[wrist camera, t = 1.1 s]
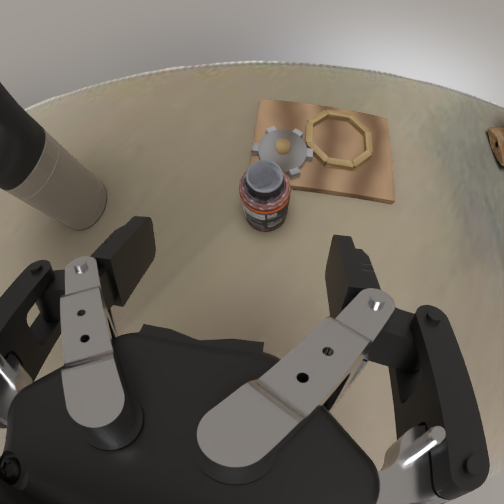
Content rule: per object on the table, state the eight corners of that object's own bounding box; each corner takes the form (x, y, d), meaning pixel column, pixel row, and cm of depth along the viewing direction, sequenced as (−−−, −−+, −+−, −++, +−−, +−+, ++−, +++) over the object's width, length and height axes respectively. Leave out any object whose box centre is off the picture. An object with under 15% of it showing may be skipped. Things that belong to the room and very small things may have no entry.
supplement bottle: (264, 185, 42) (264, 141, 31) (295, 211, 41) (305, 174, 30) (235, 212, 41) (225, 176, 30) (266, 241, 40) (266, 212, 29)
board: (247, 184, 42) (246, 171, 38) (260, 103, 45) (259, 88, 41) (392, 204, 40) (402, 193, 36) (384, 122, 44) (391, 108, 40)
